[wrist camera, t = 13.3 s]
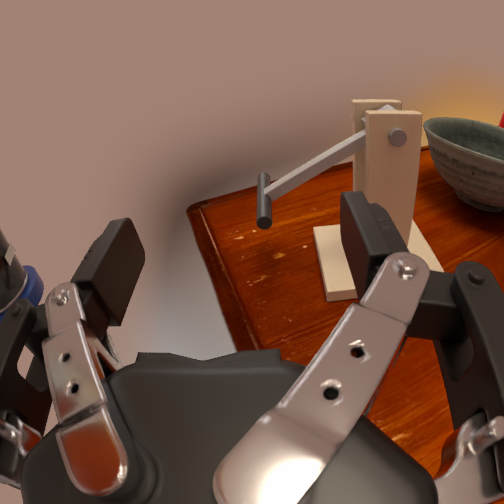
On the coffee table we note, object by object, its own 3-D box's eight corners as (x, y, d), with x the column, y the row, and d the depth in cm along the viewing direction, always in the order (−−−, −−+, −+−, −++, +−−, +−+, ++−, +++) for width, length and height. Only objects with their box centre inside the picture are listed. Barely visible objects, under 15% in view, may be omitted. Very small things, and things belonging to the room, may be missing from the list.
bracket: (326, 302, 28) (323, 125, 18) (313, 236, 35) (303, 96, 26) (443, 285, 26) (479, 126, 16) (410, 226, 34) (421, 95, 24)
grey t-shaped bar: (267, 237, 24) (248, 216, 23) (265, 189, 31) (251, 172, 30) (425, 148, 19) (413, 120, 18) (387, 118, 25) (376, 96, 24)
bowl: (460, 246, 30) (478, 166, 24) (398, 168, 46) (401, 110, 40) (559, 232, 27) (578, 171, 21) (490, 167, 44) (497, 117, 38)
